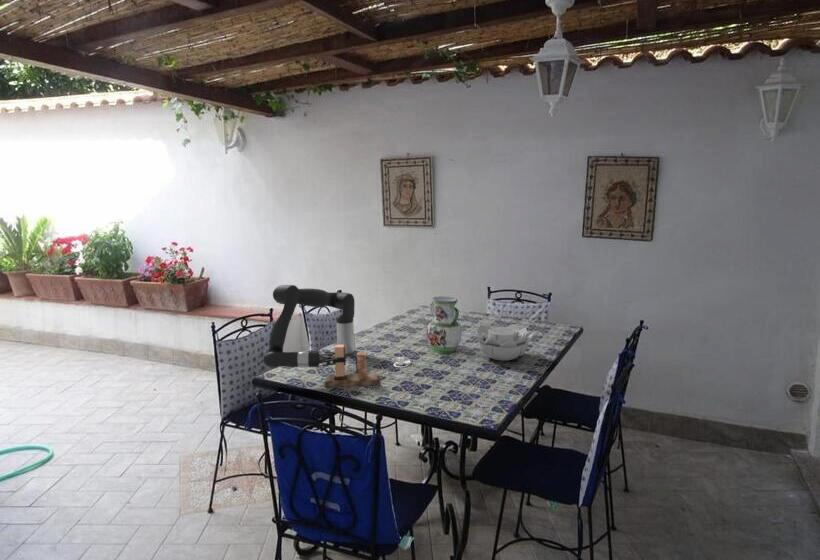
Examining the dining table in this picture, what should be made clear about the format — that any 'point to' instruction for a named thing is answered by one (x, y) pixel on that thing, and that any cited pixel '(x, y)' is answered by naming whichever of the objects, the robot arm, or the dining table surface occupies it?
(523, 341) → the decorative bowl
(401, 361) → the teacup and saucer
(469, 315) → the dining table surface
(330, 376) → the rail
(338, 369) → the tall tan pillar block
